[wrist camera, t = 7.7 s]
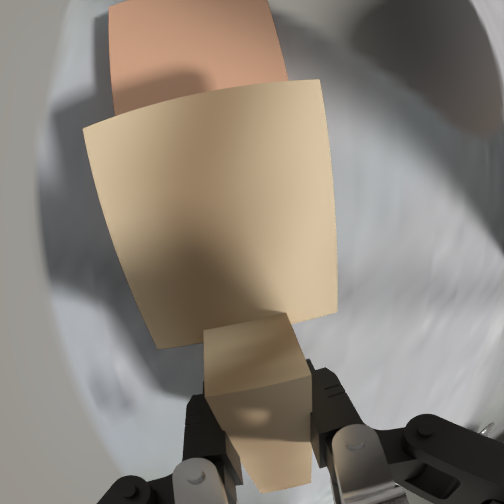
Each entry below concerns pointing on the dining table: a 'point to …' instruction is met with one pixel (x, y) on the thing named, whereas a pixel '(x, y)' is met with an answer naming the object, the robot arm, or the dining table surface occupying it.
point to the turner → (230, 249)
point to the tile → (189, 49)
